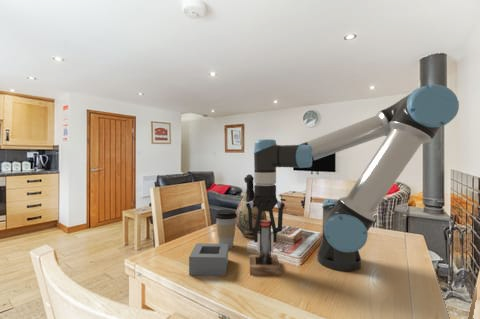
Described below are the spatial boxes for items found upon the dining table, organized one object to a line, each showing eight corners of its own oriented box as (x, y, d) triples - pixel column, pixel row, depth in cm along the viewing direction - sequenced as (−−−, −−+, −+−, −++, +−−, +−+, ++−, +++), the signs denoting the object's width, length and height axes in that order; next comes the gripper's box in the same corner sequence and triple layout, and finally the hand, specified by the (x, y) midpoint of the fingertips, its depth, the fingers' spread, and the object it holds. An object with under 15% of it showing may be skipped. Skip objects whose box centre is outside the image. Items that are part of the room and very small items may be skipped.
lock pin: (271, 261, 88) (271, 219, 88) (272, 267, 84) (272, 223, 83) (258, 261, 88) (258, 219, 88) (259, 267, 84) (258, 223, 83)
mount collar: (276, 261, 91) (276, 255, 91) (280, 275, 81) (280, 267, 81) (249, 261, 91) (249, 254, 91) (250, 274, 81) (250, 267, 81)
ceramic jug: (234, 229, 128) (235, 172, 128) (264, 229, 129) (264, 172, 128) (235, 241, 111) (235, 175, 111) (269, 241, 112) (270, 175, 111)
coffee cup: (234, 251, 100) (234, 215, 99) (211, 249, 102) (212, 213, 101) (238, 243, 109) (239, 209, 109) (218, 241, 111) (218, 208, 111)
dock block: (228, 259, 92) (228, 243, 92) (225, 275, 80) (225, 257, 80) (196, 259, 93) (196, 243, 93) (188, 274, 81) (188, 256, 80)
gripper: (287, 182, 89) (287, 247, 89) (240, 183, 89) (241, 246, 90) (291, 185, 81) (291, 255, 82) (240, 185, 82) (240, 255, 82)
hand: (265, 251), depth 86 cm, fingers closed on lock pin, 4 cm apart
